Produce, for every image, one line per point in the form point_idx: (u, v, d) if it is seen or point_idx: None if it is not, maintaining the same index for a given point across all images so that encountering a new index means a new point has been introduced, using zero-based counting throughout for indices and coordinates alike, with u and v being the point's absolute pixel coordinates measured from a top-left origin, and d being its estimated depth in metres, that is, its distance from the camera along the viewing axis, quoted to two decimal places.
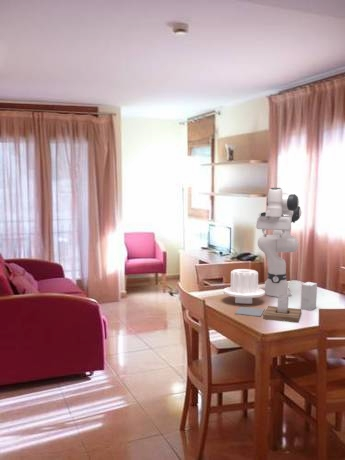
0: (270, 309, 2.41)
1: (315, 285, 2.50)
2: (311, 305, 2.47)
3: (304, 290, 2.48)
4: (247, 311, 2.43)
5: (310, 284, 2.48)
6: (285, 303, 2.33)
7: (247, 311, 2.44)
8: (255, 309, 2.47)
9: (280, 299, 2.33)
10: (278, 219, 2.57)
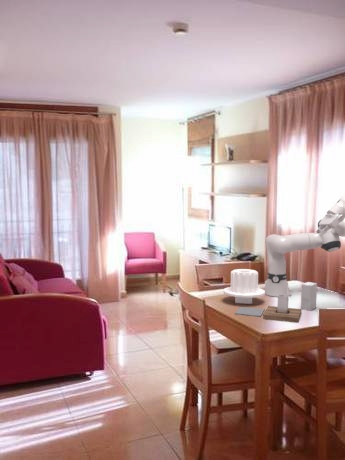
0: (270, 309, 2.41)
1: (315, 285, 2.50)
2: (311, 305, 2.47)
3: (304, 290, 2.48)
4: (247, 311, 2.43)
5: (310, 284, 2.48)
6: (285, 303, 2.33)
7: (247, 311, 2.44)
8: (255, 309, 2.47)
9: (280, 299, 2.33)
10: (332, 215, 2.32)
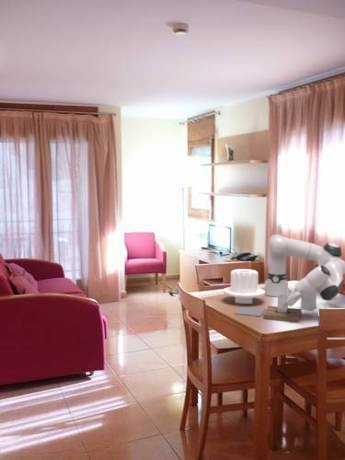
0: (270, 309, 2.41)
1: None
2: (311, 305, 2.47)
3: None
4: (247, 311, 2.43)
5: None
6: None
7: (247, 311, 2.44)
8: (255, 309, 2.47)
9: (280, 299, 2.33)
10: (295, 291, 2.30)
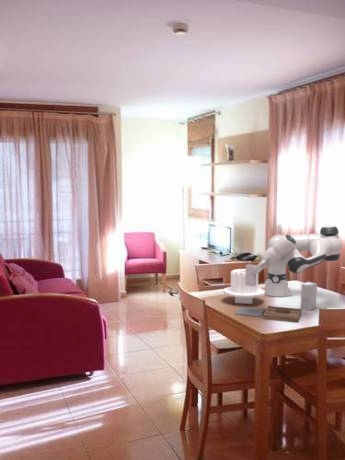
0: (270, 309, 2.41)
1: (315, 285, 2.50)
2: (311, 305, 2.47)
3: (304, 290, 2.48)
4: (247, 311, 2.43)
5: (310, 284, 2.48)
6: None
7: (247, 311, 2.44)
8: (255, 309, 2.47)
9: (248, 268, 2.39)
10: (262, 260, 2.36)
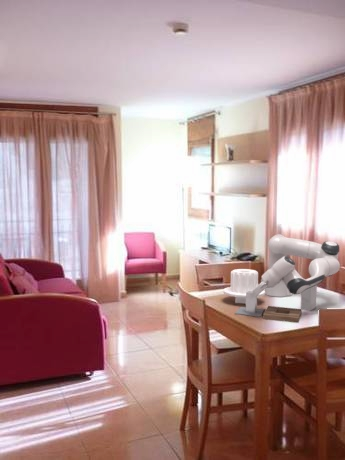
0: (270, 309, 2.41)
1: (315, 285, 2.49)
2: (311, 305, 2.47)
3: None
4: None
5: None
6: (253, 299, 2.39)
7: None
8: None
9: (248, 295, 2.40)
10: (261, 281, 2.36)
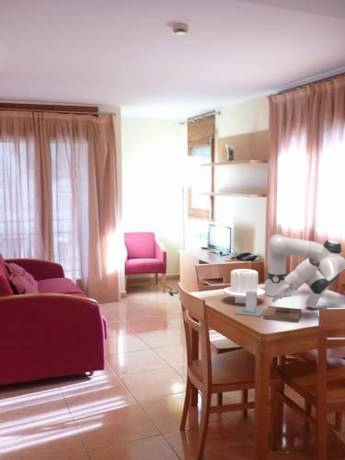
0: (270, 309, 2.41)
1: None
2: (316, 303, 2.47)
3: None
4: None
5: None
6: (253, 299, 2.39)
7: None
8: None
9: (248, 295, 2.40)
10: (285, 284, 2.32)
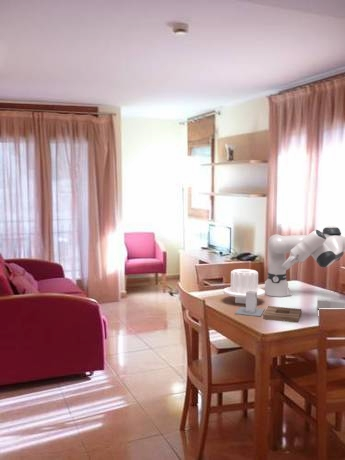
0: (270, 309, 2.41)
1: None
2: None
3: (338, 305, 2.43)
4: None
5: None
6: (253, 299, 2.39)
7: None
8: None
9: (248, 295, 2.40)
10: (291, 256, 2.30)
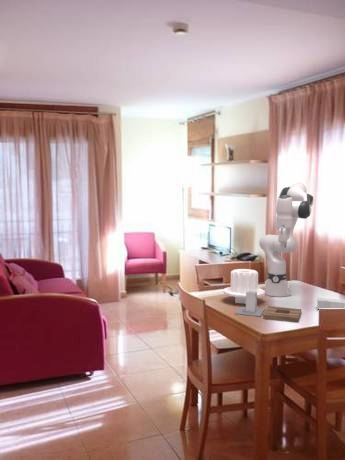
0: (270, 309, 2.41)
1: None
2: None
3: (338, 305, 2.43)
4: None
5: None
6: (253, 299, 2.39)
7: None
8: None
9: (248, 295, 2.40)
10: None
